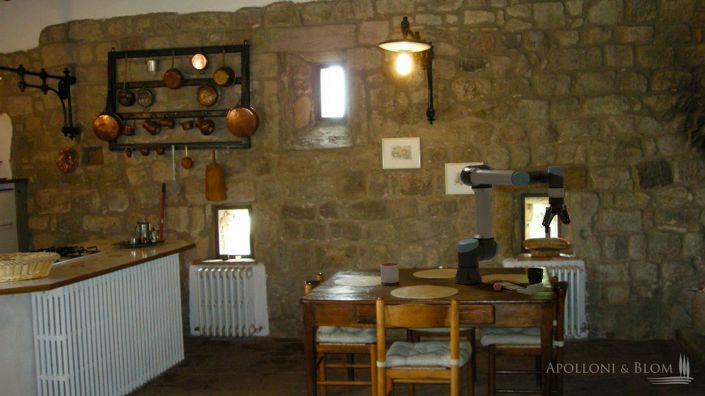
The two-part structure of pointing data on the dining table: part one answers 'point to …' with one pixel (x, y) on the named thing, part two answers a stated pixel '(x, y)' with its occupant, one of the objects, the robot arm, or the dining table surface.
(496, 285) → the ball
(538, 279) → the mug
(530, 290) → the stop block
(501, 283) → the ramp
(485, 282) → the dining table surface
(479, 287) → the dining table surface
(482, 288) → the dining table surface
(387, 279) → the cup
